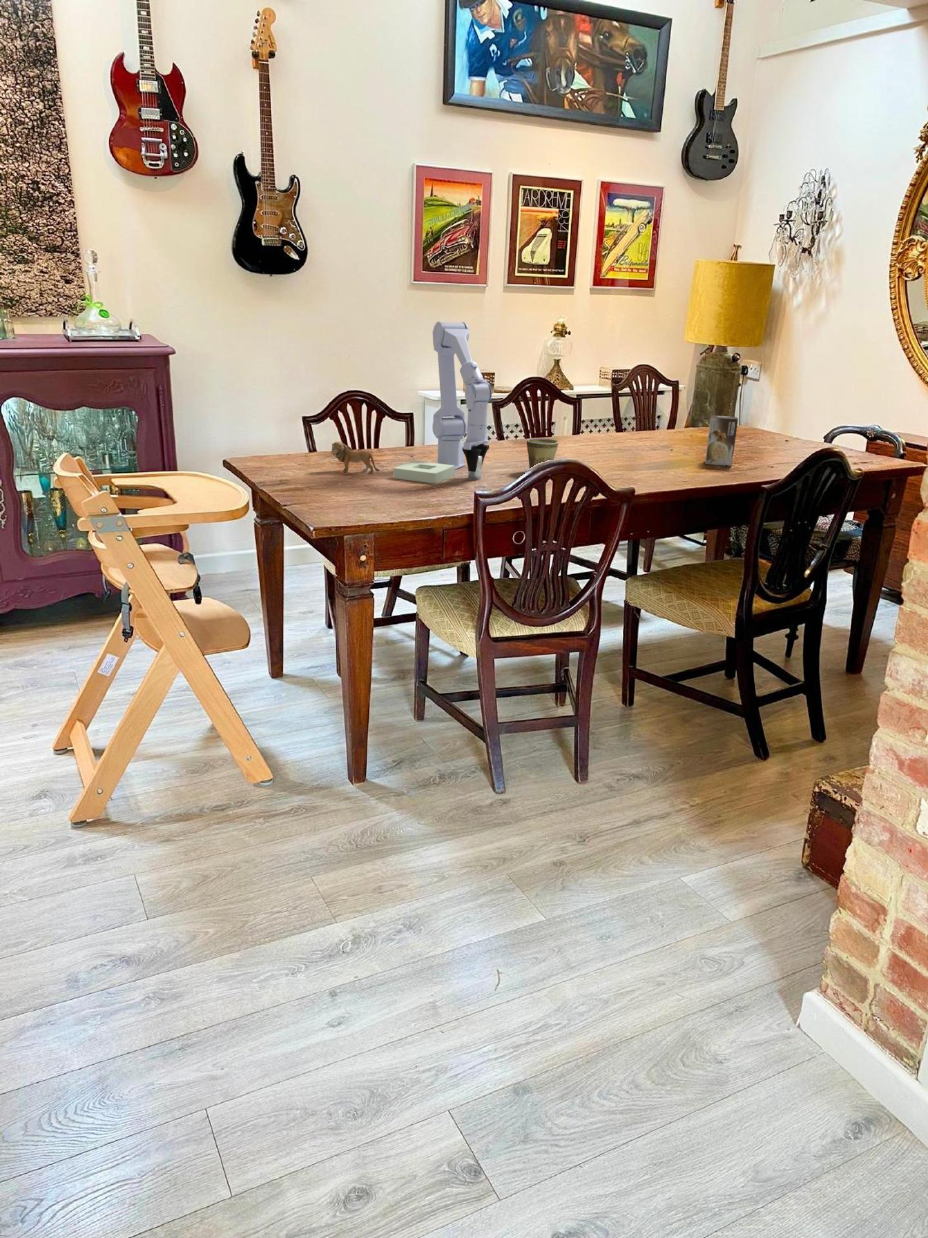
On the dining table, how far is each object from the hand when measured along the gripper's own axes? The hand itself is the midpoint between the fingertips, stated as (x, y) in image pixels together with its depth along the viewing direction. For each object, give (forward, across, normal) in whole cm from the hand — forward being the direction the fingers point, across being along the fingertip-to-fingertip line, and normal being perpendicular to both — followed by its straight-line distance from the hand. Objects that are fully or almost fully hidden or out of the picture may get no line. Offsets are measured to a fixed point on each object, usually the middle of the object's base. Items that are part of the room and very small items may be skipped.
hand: (474, 469), depth 264 cm
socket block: (+3, -6, +14) cm, 15 cm away
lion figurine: (+3, -12, +35) cm, 37 cm away
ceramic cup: (+3, +22, -14) cm, 26 cm away
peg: (+3, 0, 0) cm, 3 cm away
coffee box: (+3, +71, -63) cm, 95 cm away
